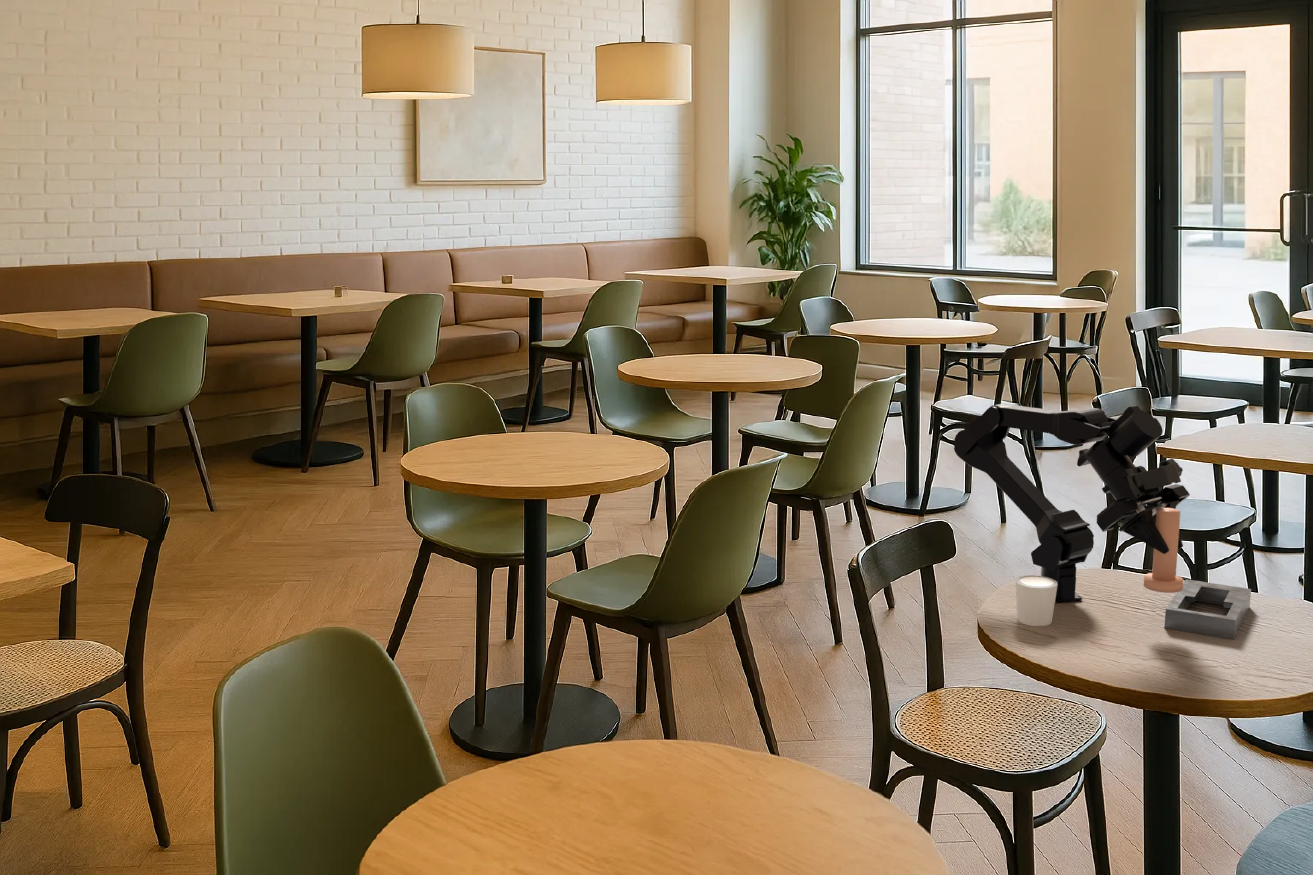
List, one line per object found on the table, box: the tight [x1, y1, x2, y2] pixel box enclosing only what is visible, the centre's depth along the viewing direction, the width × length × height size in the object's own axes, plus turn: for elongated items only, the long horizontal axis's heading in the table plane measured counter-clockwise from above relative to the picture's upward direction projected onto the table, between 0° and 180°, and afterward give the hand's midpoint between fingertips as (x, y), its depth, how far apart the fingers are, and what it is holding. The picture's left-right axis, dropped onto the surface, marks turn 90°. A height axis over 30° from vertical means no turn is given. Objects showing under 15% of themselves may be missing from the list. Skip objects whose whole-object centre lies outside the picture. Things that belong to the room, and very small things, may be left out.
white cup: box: [1015, 575, 1058, 627], centre depth 208 cm, size 7×7×7 cm
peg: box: [1143, 508, 1184, 594], centre depth 202 cm, size 6×6×13 cm
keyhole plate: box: [1164, 579, 1252, 640], centre depth 209 cm, size 18×11×3 cm, turn 147°
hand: (1173, 550), depth 200 cm, fingers closed on peg, 4 cm apart
